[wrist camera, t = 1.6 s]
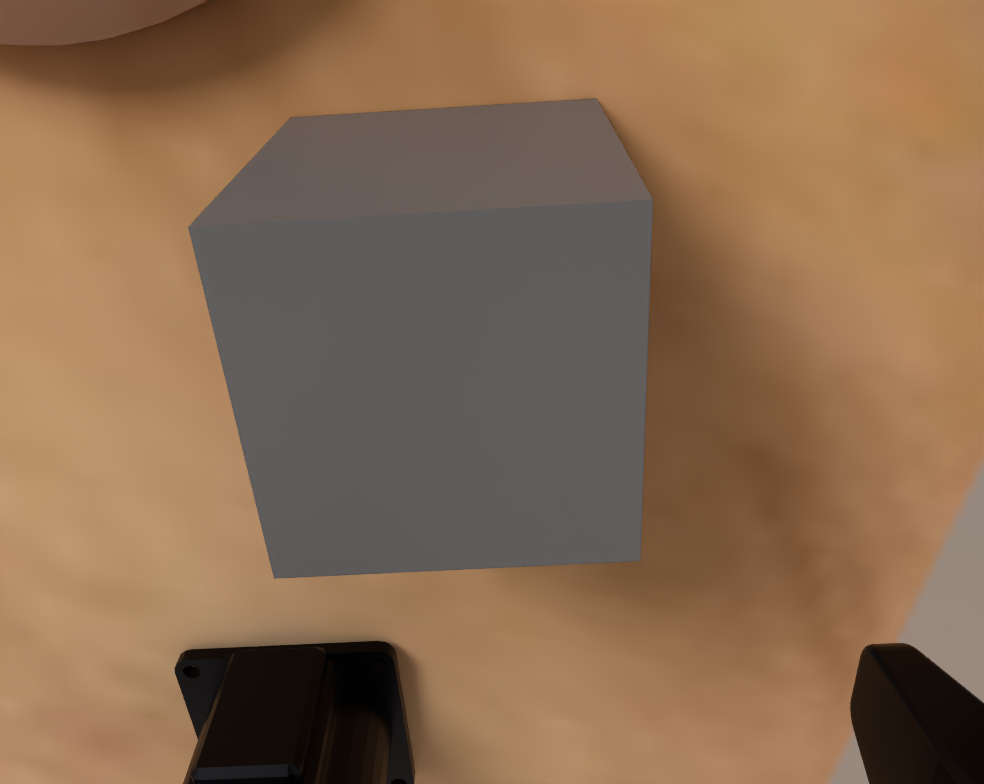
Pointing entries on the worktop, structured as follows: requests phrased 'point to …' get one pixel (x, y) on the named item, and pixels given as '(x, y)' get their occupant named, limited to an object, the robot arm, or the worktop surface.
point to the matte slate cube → (437, 337)
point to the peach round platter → (82, 19)
